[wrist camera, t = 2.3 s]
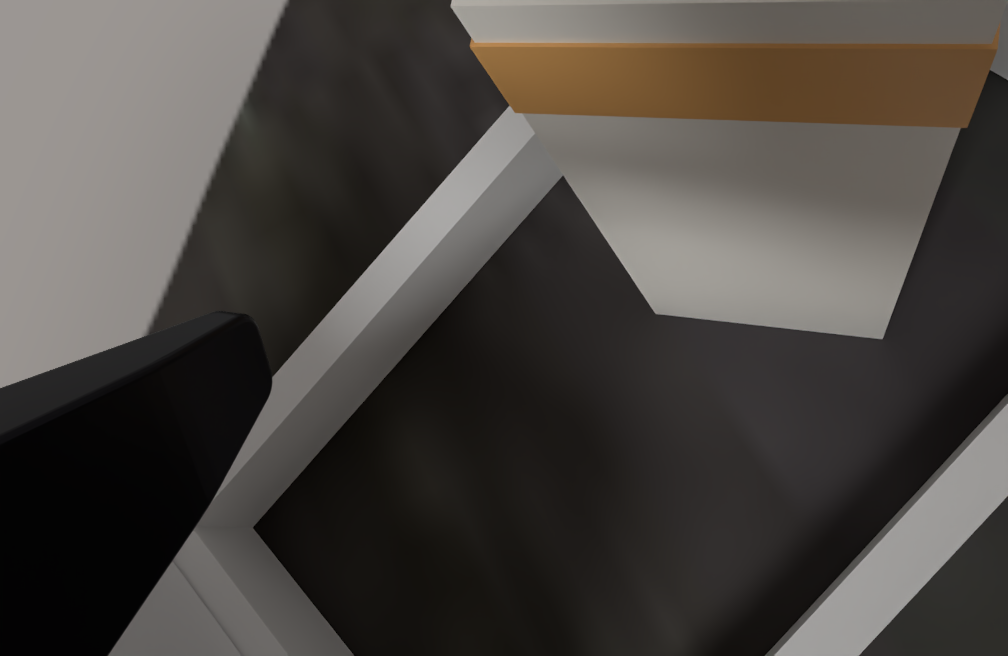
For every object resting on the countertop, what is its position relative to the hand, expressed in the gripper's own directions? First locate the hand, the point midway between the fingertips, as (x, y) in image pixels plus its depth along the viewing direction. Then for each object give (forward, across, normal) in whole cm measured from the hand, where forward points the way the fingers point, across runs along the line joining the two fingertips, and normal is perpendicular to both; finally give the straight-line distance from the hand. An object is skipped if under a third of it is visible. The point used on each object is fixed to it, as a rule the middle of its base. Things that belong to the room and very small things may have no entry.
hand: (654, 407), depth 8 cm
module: (+13, 0, +4) cm, 13 cm away
